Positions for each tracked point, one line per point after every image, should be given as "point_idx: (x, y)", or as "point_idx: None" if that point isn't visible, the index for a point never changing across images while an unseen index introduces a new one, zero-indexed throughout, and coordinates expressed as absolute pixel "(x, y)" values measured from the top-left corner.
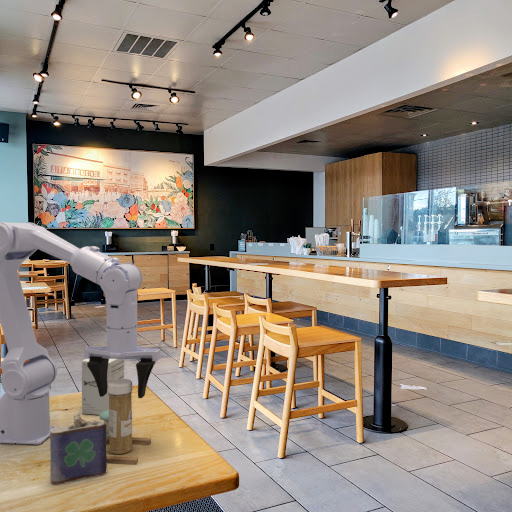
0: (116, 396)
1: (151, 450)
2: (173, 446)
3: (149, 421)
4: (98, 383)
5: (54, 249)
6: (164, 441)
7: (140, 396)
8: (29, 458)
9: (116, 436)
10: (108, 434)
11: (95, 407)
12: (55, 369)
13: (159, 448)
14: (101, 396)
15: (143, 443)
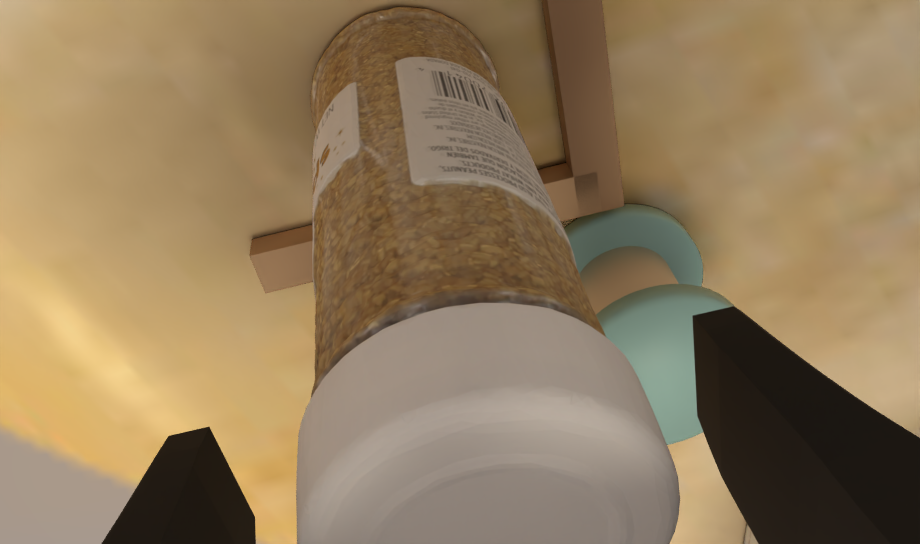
0: (427, 294)
1: (174, 168)
2: (65, 274)
3: None
4: (829, 410)
5: None
6: (184, 315)
7: (167, 447)
8: None
9: (393, 63)
10: (614, 241)
11: None
12: None
13: (140, 215)
14: (713, 312)
15: (297, 231)
